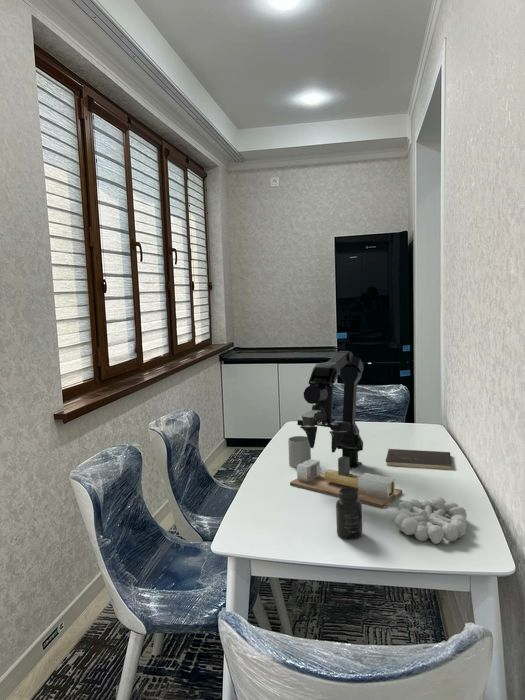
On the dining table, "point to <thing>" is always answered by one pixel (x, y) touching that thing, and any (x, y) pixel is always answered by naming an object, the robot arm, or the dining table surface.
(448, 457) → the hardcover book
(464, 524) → the campfire
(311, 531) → the dining table surface
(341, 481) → the brass t-shaped handle
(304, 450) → the cup
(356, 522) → the supplement bottle
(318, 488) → the board
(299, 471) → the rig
